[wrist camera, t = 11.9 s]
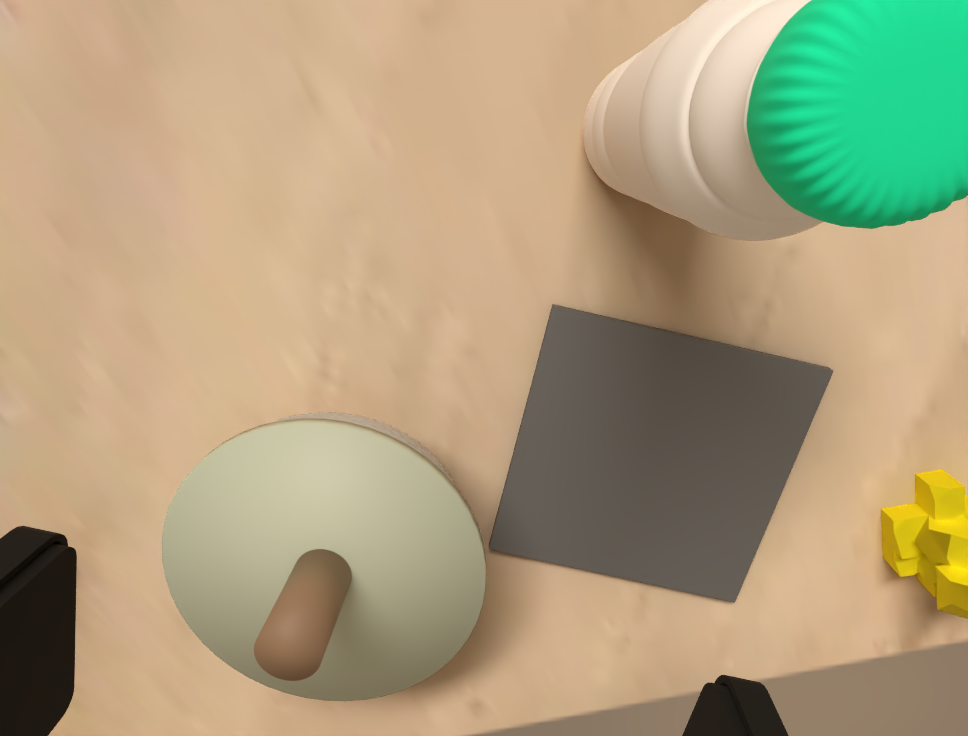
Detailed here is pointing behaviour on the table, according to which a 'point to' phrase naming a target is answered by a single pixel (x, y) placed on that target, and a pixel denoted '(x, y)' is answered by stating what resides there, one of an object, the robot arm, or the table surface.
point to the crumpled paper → (932, 539)
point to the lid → (324, 559)
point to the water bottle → (791, 116)
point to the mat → (652, 453)
